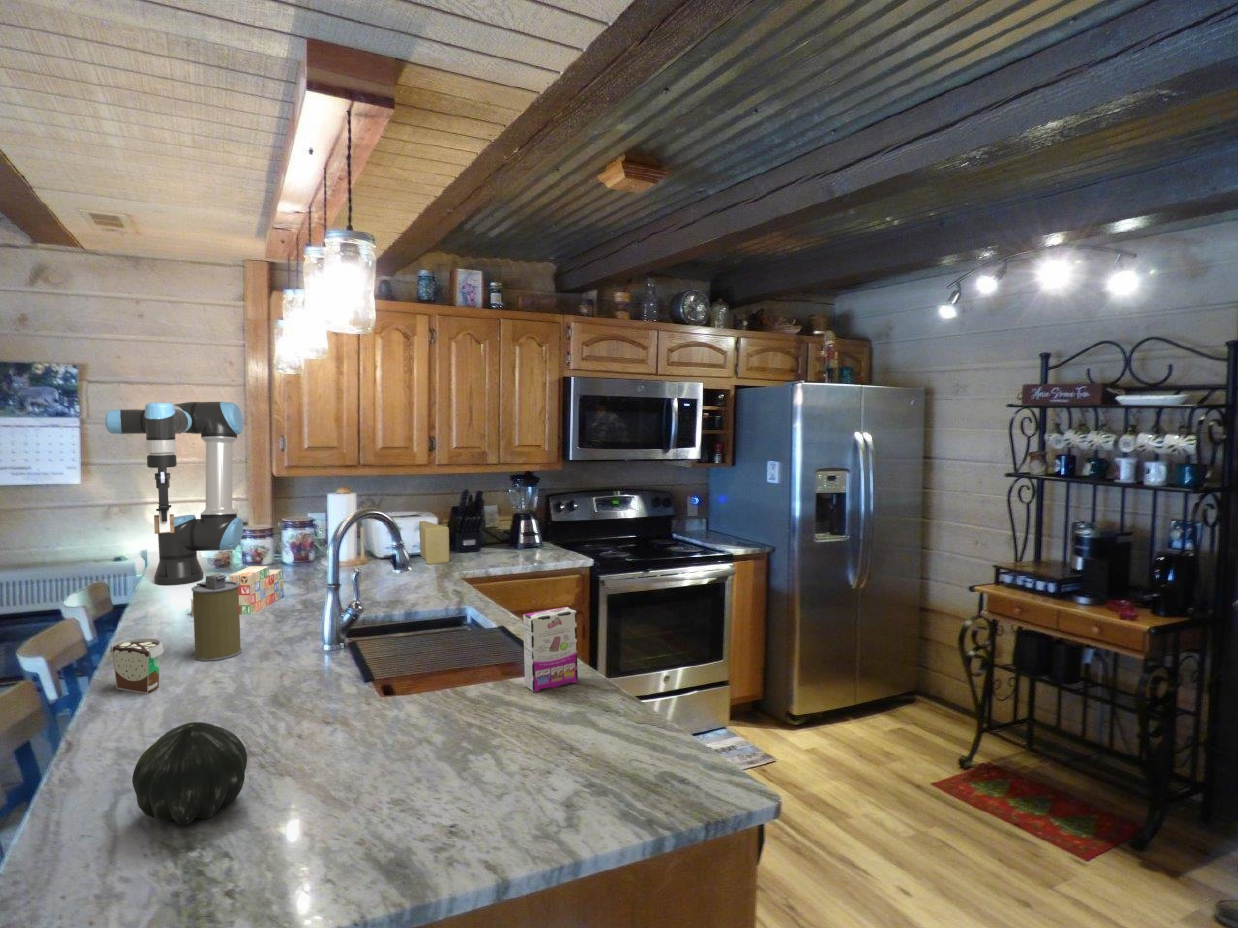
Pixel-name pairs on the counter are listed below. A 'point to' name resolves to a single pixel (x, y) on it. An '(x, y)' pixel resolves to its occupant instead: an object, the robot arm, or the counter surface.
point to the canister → (216, 619)
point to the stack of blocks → (257, 587)
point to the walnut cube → (156, 524)
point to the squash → (190, 773)
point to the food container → (137, 664)
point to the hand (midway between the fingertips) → (164, 530)
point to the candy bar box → (550, 648)
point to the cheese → (434, 542)
